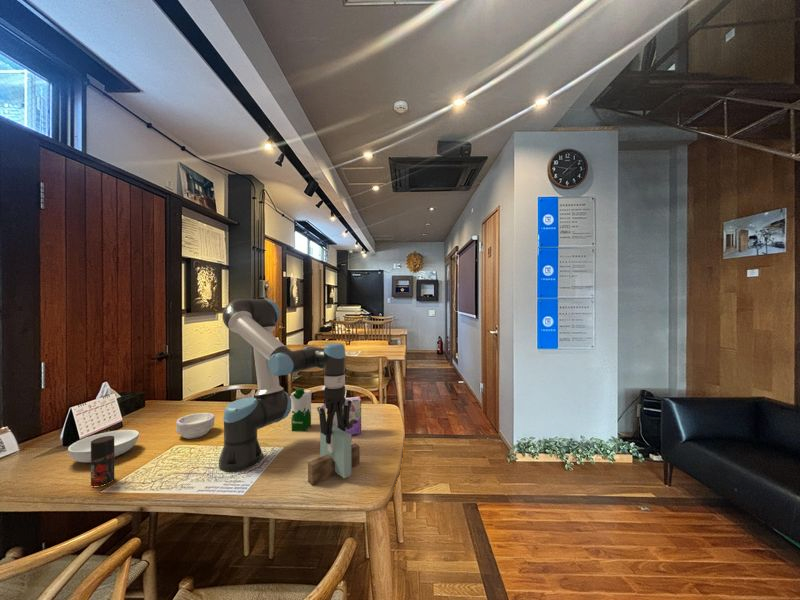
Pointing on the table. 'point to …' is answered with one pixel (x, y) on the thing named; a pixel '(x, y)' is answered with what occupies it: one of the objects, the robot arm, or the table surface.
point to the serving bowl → (121, 437)
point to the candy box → (352, 417)
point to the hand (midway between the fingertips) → (335, 449)
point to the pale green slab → (338, 451)
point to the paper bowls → (195, 425)
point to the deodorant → (102, 460)
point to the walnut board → (329, 466)
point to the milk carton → (301, 409)
